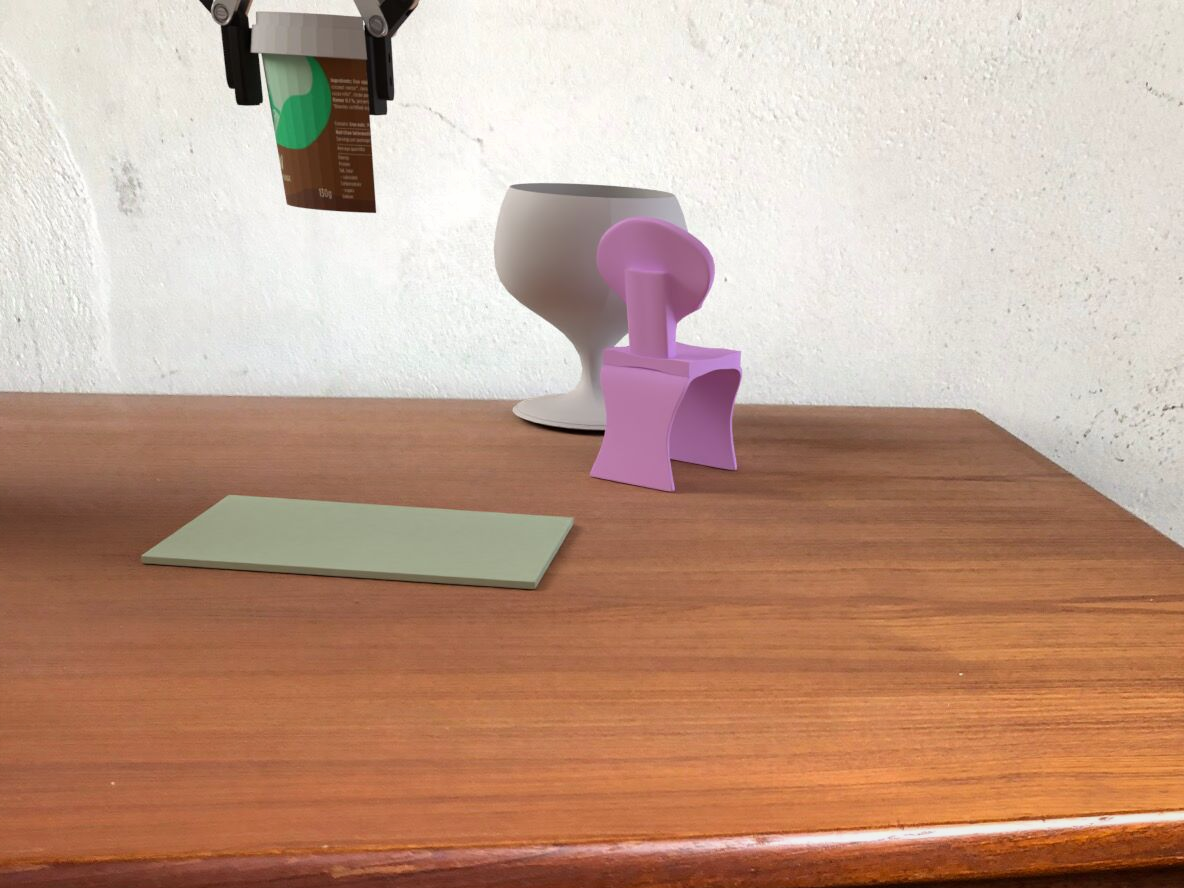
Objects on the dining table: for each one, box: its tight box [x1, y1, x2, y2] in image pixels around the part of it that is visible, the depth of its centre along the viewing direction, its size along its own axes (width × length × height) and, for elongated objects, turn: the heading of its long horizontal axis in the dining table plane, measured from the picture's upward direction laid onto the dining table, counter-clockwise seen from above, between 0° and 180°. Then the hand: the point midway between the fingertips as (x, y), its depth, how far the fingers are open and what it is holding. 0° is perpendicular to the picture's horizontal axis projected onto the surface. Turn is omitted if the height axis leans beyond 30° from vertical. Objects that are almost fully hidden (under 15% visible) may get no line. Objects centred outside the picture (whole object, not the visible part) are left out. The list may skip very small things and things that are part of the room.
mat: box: [140, 494, 574, 590], centre depth 81 cm, size 20×13×1 cm, turn 88°
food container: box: [250, 10, 377, 214], centre depth 92 cm, size 12×6×10 cm, turn 19°
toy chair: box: [589, 217, 743, 492], centre depth 95 cm, size 8×9×15 cm
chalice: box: [493, 182, 689, 432], centre depth 109 cm, size 14×14×15 cm
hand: (312, 107), depth 92 cm, fingers closed on food container, 7 cm apart
